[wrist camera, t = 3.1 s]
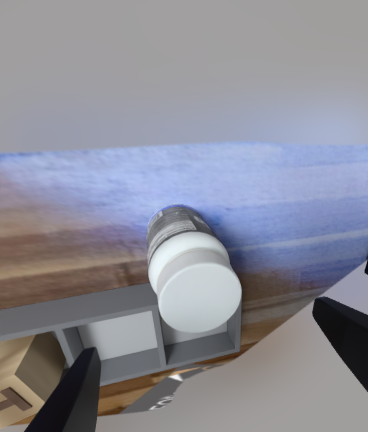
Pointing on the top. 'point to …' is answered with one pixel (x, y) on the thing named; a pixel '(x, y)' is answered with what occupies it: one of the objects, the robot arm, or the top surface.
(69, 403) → the robot arm
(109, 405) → the top surface
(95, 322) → the bay dish
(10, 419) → the letter cube
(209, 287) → the pill bottle
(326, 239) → the top surface
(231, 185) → the top surface
